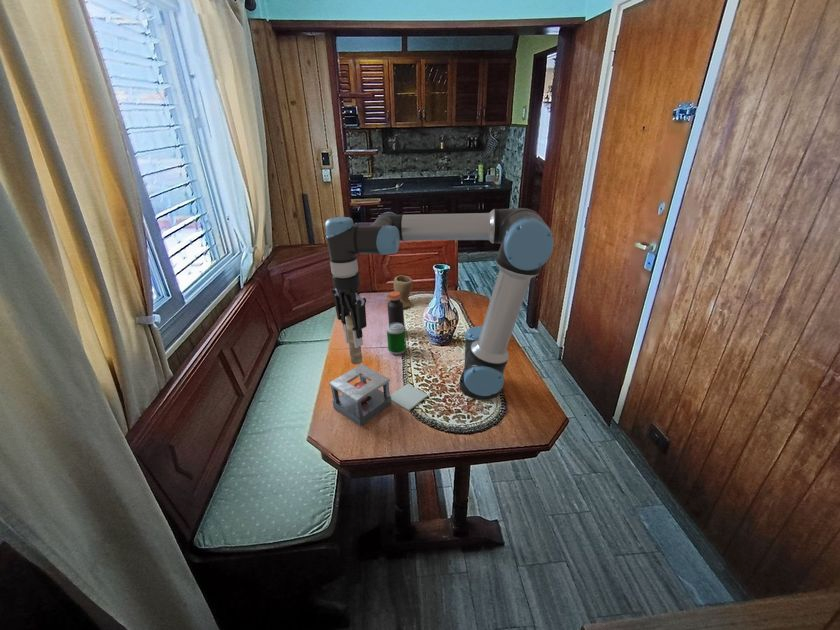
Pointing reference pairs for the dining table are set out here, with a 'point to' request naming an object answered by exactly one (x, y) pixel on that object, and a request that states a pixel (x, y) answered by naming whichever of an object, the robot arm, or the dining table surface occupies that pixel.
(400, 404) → the coaster
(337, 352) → the dining table surface
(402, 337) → the soda can
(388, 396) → the grey open frame cage
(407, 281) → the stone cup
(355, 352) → the dowel
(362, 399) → the plunger
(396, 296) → the bottle
